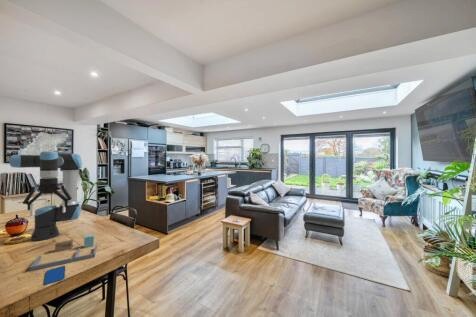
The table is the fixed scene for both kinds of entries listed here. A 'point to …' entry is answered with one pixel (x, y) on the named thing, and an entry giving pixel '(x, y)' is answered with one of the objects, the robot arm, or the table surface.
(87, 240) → the teal block
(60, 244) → the walnut block
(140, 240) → the table surface
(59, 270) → the smartphone
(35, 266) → the slot rack
